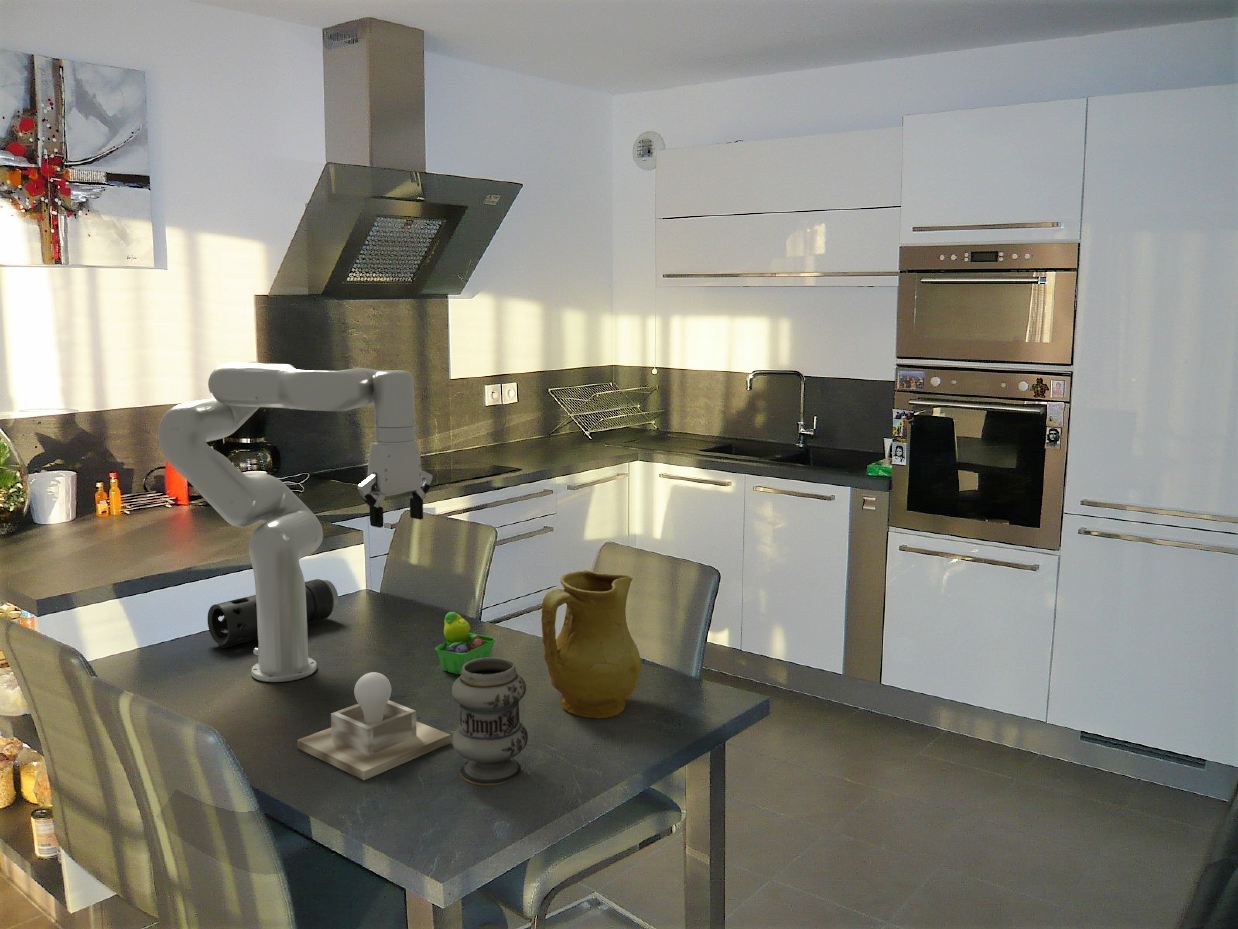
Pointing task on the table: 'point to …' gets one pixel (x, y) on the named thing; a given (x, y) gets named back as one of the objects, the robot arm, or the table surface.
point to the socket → (373, 740)
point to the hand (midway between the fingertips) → (397, 522)
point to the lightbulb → (372, 696)
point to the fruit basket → (461, 644)
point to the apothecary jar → (489, 720)
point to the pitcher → (591, 644)
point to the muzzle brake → (244, 613)
